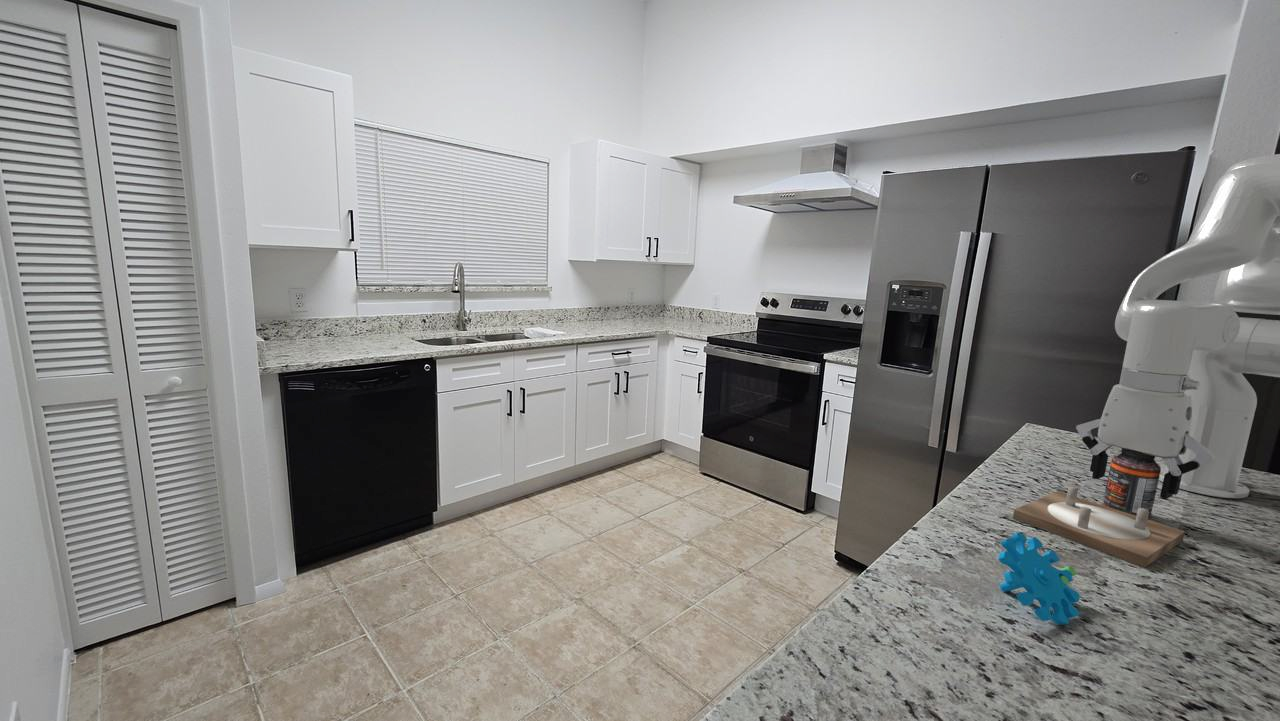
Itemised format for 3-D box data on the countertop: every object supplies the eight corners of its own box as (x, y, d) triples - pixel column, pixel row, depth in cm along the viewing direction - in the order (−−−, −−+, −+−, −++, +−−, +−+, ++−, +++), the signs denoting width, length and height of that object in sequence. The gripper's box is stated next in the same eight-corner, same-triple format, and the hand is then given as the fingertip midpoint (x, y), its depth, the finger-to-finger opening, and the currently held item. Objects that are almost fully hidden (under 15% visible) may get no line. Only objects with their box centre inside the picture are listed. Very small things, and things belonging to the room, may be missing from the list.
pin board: (1056, 499, 93) (1060, 474, 92) (1182, 540, 79) (1189, 512, 78) (1012, 518, 85) (1017, 491, 84) (1144, 567, 71) (1151, 536, 71)
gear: (1038, 624, 57) (993, 530, 62) (992, 634, 61) (954, 546, 67) (1108, 620, 60) (1059, 531, 66) (1059, 630, 65) (1018, 546, 70)
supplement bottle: (1092, 504, 91) (1104, 441, 89) (1124, 504, 91) (1137, 440, 89) (1126, 521, 85) (1140, 453, 83) (1161, 521, 85) (1175, 453, 83)
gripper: (1239, 391, 79) (1213, 503, 82) (1094, 370, 93) (1076, 465, 97) (1224, 396, 75) (1197, 513, 78) (1075, 373, 90) (1057, 472, 93)
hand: (1130, 486), depth 87 cm, fingers open, 8 cm apart
